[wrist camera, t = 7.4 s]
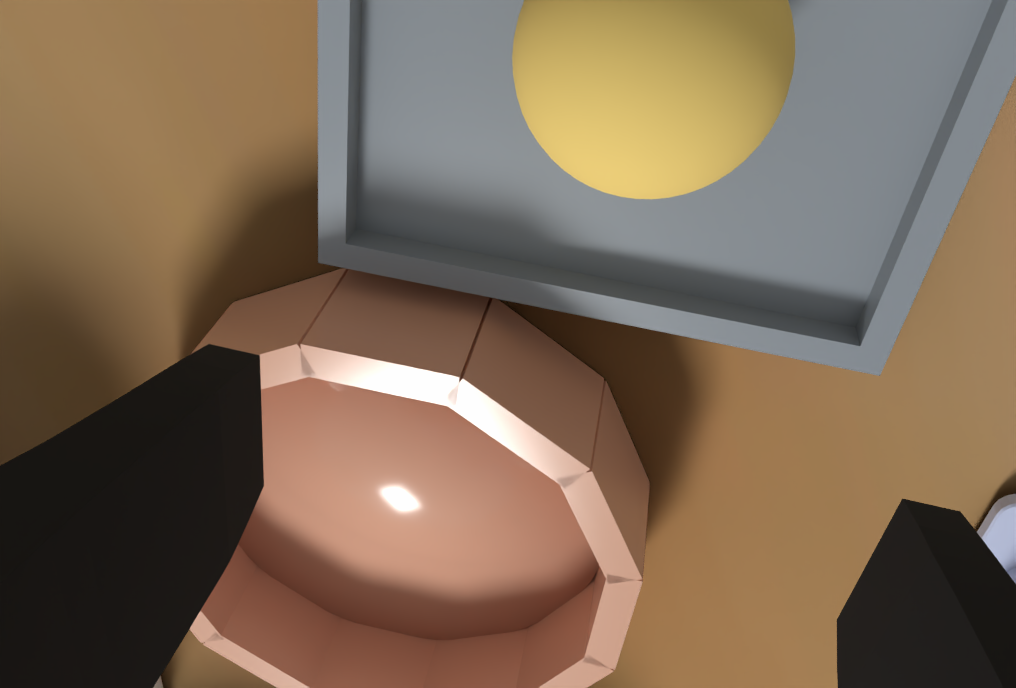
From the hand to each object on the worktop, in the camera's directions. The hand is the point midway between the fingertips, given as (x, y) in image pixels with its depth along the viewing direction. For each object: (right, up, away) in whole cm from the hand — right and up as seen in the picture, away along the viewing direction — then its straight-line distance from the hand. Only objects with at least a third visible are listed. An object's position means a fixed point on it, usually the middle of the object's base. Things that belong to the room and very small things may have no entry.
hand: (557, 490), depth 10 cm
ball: (+2, +7, +6) cm, 10 cm away
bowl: (-3, -2, +14) cm, 15 cm away
